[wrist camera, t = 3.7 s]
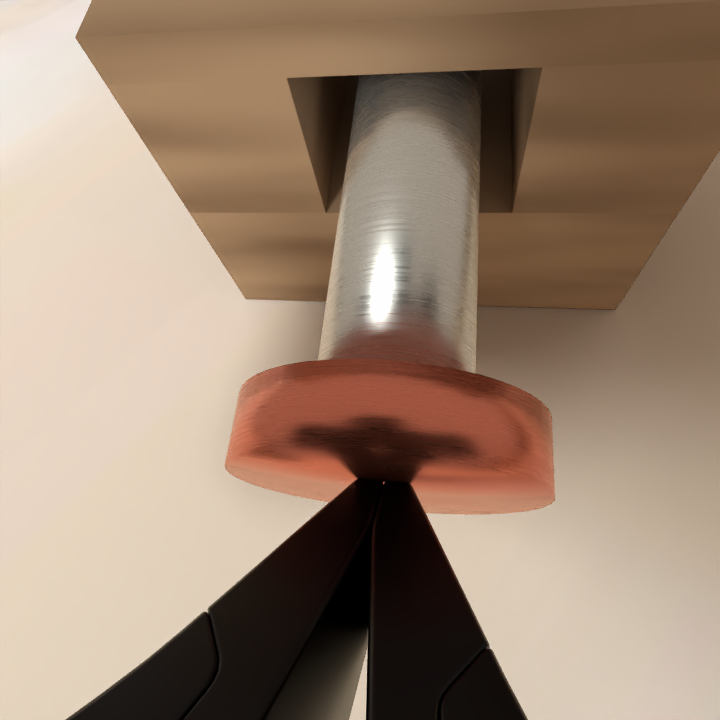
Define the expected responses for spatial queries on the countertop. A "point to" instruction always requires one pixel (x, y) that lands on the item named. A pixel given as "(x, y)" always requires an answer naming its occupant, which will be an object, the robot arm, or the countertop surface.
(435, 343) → the steel pin
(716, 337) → the countertop surface
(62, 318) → the countertop surface
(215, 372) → the countertop surface
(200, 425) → the countertop surface
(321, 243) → the hitch block
